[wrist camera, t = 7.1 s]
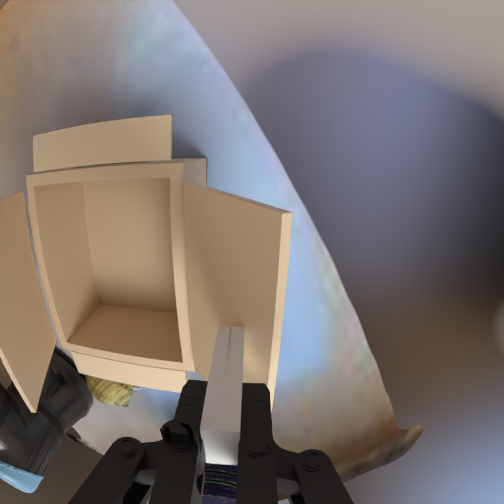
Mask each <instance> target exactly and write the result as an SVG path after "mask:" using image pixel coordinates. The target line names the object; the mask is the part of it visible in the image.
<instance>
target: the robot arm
mask: <svg viewBox="0 0 504 504" xmlns="http://www.w3.org/2000/svg"><path fill="white" fill-rule="evenodd" d="M244 338H245V327H227V326H218V329H217V335H216V340H215V346H214V351H213V357H212V362H211V368H210V373H209V379H208V381H198V380H188V381H187V383H186V384H185V385H184V386H183V387H182V391H181V395H180V399H179V402H178V406H177V410H176V414H175V418H174V420H171V421H168V422H167V423H165V424H164V425H163V426H162V428H161V429H160V432H161V435H162V437H163V439H162V440H160V441H156V442H148V443H141V442H140V441H138V440H137V439H135V438H132V437H122V438H119V439H117V440H116V441H115V442H114V443H113V444H112V445H111V446H110V448H109V449H108V451H107V452H106V453H105V455H104V456H103V457H102V459H101V460H100V461H99V463H98V464H97V465H96V467H95V468H94V469H93V471H92V472H91V473H90V475H89V476H88V478H87V479H86V480H85V481H84V483H83V484H82V486H81V487H80V488H79V490H78V491H77V492H76V494H75V495H74V496H73V498H72V499H71V500H70V502H69V503H68V504H146V502H147V500H148V499H149V497H150V495H151V497H150V501H149V504H202V496H203V488H204V480H205V470H204V467H205V460H206V463H212V464H224V465H238V466H237V489H236V504H278V496H277V492H279V493H283V494H286V495H287V497H288V500H289V502H290V504H354V503H353V502H352V500H351V498H350V496H349V494H348V492H347V490H346V489H345V487H344V485H343V483H342V481H341V479H340V477H339V475H338V474H337V472H336V470H335V468H334V466H333V464H332V462H331V460H330V458H329V457H328V456H327V455H326V454H325V453H323V452H322V451H320V450H314V449H311V450H305V451H303V452H301V453H295V452H291V451H287V450H284V449H282V448H281V447H279V446H278V445H277V444H276V443H275V441H274V440H273V436H272V419H271V402H270V391H269V389H268V387H267V386H266V384H265V383H243V373H244ZM92 404H93V397H92V393H91V392H90V390H89V388H88V385H87V383H86V382H85V381H84V379H83V378H82V377H81V375H80V374H79V373H78V372H77V371H76V370H75V369H74V368H73V367H72V366H71V365H70V364H69V363H68V362H66V361H65V360H64V359H63V358H61V357H60V356H59V355H57V354H55V353H54V352H53V354H52V357H51V360H50V364H49V367H48V370H47V373H46V377H45V380H44V384H43V387H42V391H41V395H40V398H39V402H38V406H37V411H36V413H34V412H31V411H30V410H29V408H28V406H27V405H26V403H25V402H24V400H23V398H22V397H21V395H20V393H19V391H18V390H17V388H16V386H15V384H14V383H13V381H11V384H10V386H9V387H8V388H7V389H5V387H4V386H3V385H2V383H1V382H0V478H1V479H3V480H4V481H6V482H7V483H9V484H11V485H12V486H14V487H16V488H17V489H19V490H21V491H23V492H26V493H32V492H34V491H35V489H36V488H37V486H38V485H39V483H40V481H41V480H42V479H43V478H44V476H43V475H44V473H45V471H46V469H47V467H48V465H49V463H50V461H51V459H52V457H53V455H54V453H55V451H56V449H57V447H58V445H59V443H60V441H61V439H62V438H63V436H64V434H65V432H66V431H67V430H68V429H69V428H70V427H72V426H73V425H74V424H75V423H76V422H77V421H79V420H80V419H81V418H83V417H84V416H86V415H87V413H88V412H89V410H90V408H91V406H92Z"/></svg>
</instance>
